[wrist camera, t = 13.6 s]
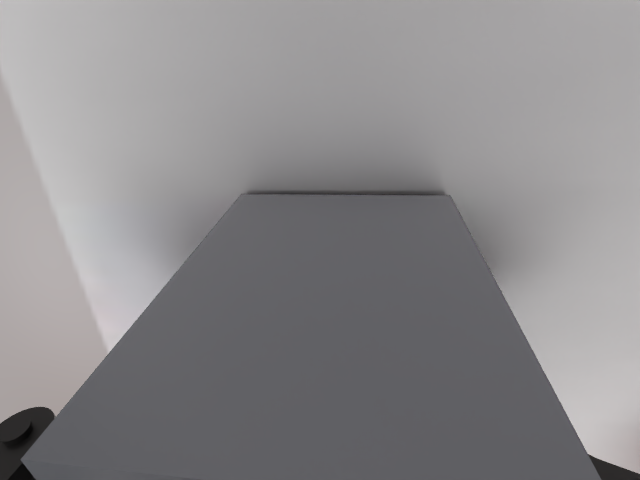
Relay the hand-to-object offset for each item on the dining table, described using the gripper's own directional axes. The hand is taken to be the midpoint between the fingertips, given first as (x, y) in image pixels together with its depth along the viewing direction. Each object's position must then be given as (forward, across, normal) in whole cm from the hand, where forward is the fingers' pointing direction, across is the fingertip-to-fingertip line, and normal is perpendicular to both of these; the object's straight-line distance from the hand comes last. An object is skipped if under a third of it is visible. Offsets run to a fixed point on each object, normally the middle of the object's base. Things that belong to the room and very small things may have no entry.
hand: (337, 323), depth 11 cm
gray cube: (+2, 0, 0) cm, 2 cm away
